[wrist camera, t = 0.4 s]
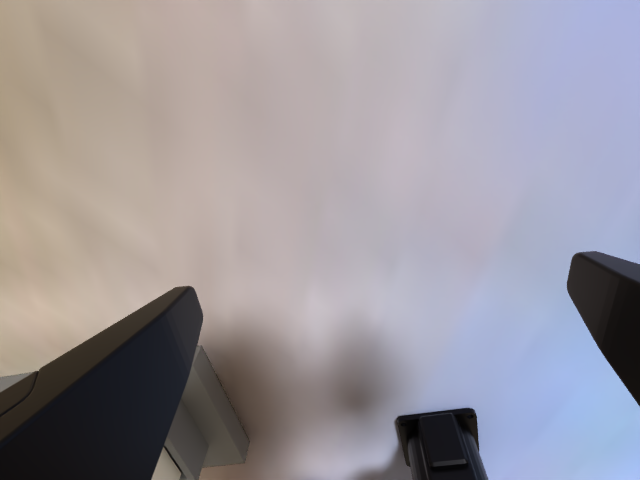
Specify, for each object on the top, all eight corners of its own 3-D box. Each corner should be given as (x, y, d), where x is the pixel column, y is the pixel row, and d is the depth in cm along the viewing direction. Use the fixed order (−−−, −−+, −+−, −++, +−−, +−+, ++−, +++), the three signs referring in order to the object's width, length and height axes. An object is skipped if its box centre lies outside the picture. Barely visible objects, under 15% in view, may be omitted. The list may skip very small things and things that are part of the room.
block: (249, 441, 35) (236, 499, 30) (44, 465, 38) (5, 521, 33) (201, 345, 29) (177, 399, 25) (-33, 382, 32) (-92, 436, 28)
